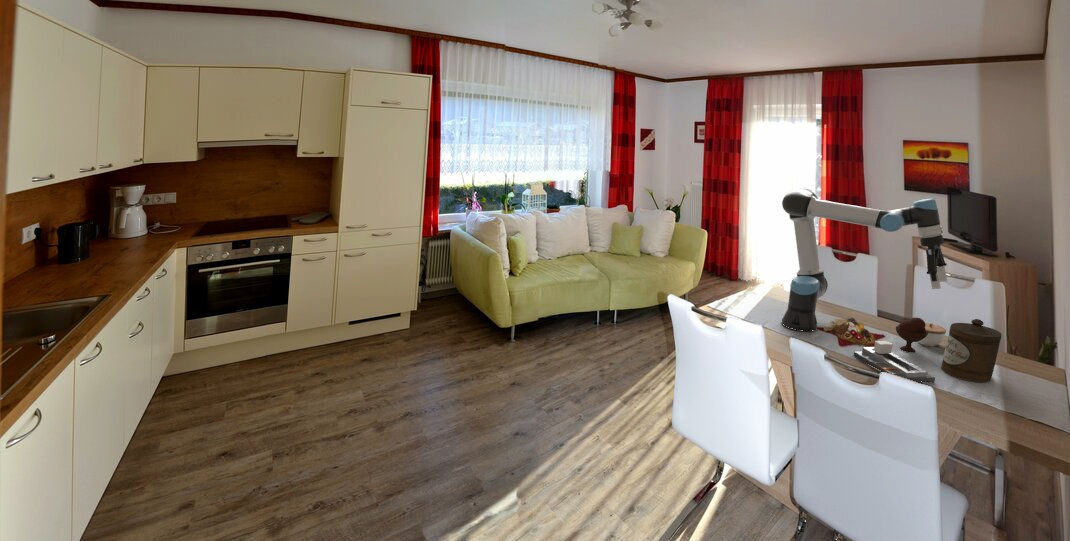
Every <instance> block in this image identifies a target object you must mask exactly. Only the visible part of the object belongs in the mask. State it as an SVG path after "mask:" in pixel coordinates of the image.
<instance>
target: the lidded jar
mask: <svg viewBox="0 0 1070 541" xmlns="http://www.w3.org/2000/svg"><path fill="white" fill-rule="evenodd" d="M925 329H926V331H928V332H929V333H928V335H927V336H926V337H925V338H924V339H922V340H920V341H918V344H920V345H922V346H925V347H936V346H937V345H939V344H941V343H942V341H943V340H944V338H945V336H946V332H947V329H946V328H945V327H943V326H942V325H941V326H940V325H937V324H934V323H932V322H930V323H928V322H925Z"/></svg>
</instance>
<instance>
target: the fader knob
mask: <svg viewBox="0 0 1070 541" xmlns="http://www.w3.org/2000/svg"><path fill="white" fill-rule="evenodd" d="M873 347H874V351H875V352H877V353H879V354H880V355H882V356H884V357H886V358H887V359H888V358H889V354H887V353H891V352H892V350H893V343H892V342H890V341H888V340H881V341H879V340H877V341H876V340H875V341H874V346H873Z"/></svg>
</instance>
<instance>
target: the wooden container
mask: <svg viewBox="0 0 1070 541" xmlns="http://www.w3.org/2000/svg"><path fill="white" fill-rule="evenodd" d="M970 322H971V323H969V322H968V323H967V322H953V323H951V324H950V327H949V331H948V332H949V333H948V336H947V340H946V341H947V342H946V345H945V349H944V352H943V357H942V361H941V366H940V368H941V369H940V370H941V371H943V372H944V373H945V374H947V375H949V376H951V377H953V378H957V379H959V380H963V381H966V382H967V381H968V382H972V381H973V382H974V383H988V382H990V381H992V378H993V374H994V370H995V365H996V363H997V362H996V361H997V357H998V352H999V348H1000V344H1001V340H1002V333H1001V332H1000V331H998V329H996V328H991V327H989V326H984V325H985V324H984V323H985V322H984V321H983V320H981V319H979V318H975V319H972V320H971V321H970ZM973 382H972V383H973Z"/></svg>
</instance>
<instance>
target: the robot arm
mask: <svg viewBox="0 0 1070 541" xmlns="http://www.w3.org/2000/svg"><path fill="white" fill-rule="evenodd" d="M781 202H782V203H781V205H782V209H783V211H784V212H786V214H788V215H789V219H790V221H791V222H793V227H794V234H795V241H796V242H795V244H796V249H797V257H798V265H799V266H798V267H799V270H798V271H797V272H796V277H793V278H792V279H791V283H790V290H789V296H788V303H787V309H786V311H785V313H784V315H783V317H782V318H781V325H782V324H784V325H785V326H787V327H789V328H793V329H796V330H795V331H797V330H803V331H802V332H806V331H809V332H813V331H812V330H815V331H817V328H818V321H817V315H816V308H817V303H818V299H820V298H821V297H823V296H824V295H825V293H827V289H828V285H829V284H828V280H827V278H826V277H825V273H824V269H822V268H821V267H820V261H819V259H820V258H819V252H818V244H817V235H816V229H815V228H816V226H815V218H823V219H826V220H827V219H828V220H832V221H833V220H834V221H839V222H842V223H843V222H845V223H849V224H854V225H855V224H856V225H860V226H866V227H872V228H876V229H880V230H883V231H885V232H887V233H888V232H889V233H890V232H891V233H893V232H897V231H899V230H900V229H902V227H905V226H910V225H917V231H918V236H919V237H920V238H919V241H920V246H921V247H923V248H924V247H927V249H926V250H925V254H926V265H927V266H926V267H927V271H926V275H929V279H930V284H931V289H932V290H935V289H936V290H940V289H942V288H941V282H943V283H944V282H948V277H947V272H946V266H947V262H946V261H945V258H944V254H943V251H942V248H941V245H943V244H944V236H943V235H942V229H943V226H941V221H940V214H939V209H938V205H937V201H936V199H934V198H925V199H921V200H916V201H913V203H912V204H913V205H912V206H909V207H904V208H897V209H891V210H890V209H889V210H881V209H875V208H869V207H864V206H858V205H852V204H845V203H841V202H840V203H839V202H834V201H829V200H822V199H819V198H818V195H817V194H816V193H815V192H814V191H813V190H812V189H808V188H799V189H796V190H792V191H789V192H788V193H787V194H785V196H784V197H783V198H782V201H781ZM785 326H784V327H785ZM787 327H786V328H787ZM789 328H788V329H789ZM793 329H792V330H793Z"/></svg>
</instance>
